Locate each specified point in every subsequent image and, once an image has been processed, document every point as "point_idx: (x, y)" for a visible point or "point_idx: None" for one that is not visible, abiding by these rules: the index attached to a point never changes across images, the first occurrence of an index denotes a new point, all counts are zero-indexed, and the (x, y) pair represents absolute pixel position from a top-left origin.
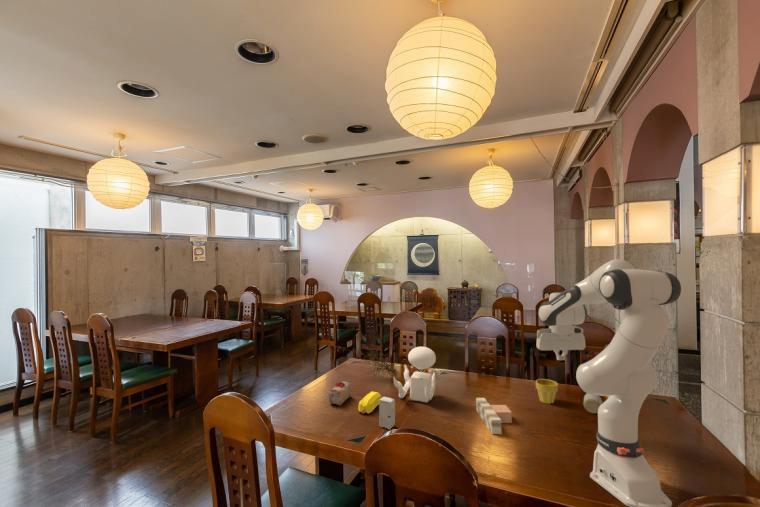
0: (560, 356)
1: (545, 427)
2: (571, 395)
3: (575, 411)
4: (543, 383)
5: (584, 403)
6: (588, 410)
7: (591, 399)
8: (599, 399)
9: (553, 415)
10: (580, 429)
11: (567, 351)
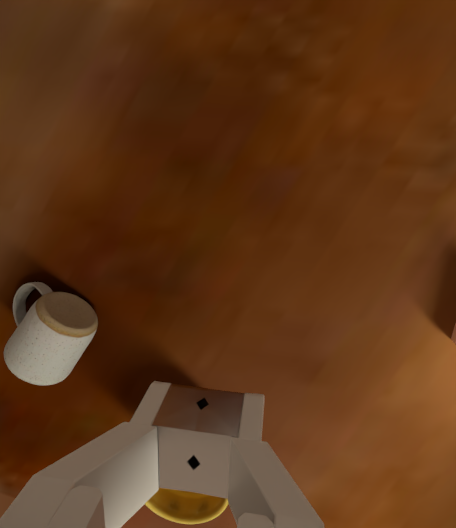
0: (222, 433)
1: (343, 211)
2: (83, 444)
3: (138, 326)
4: (182, 499)
5: (90, 331)
6: (91, 310)
7: (53, 326)
8: (17, 333)
9: (244, 307)
10: (203, 179)
11: (21, 498)
